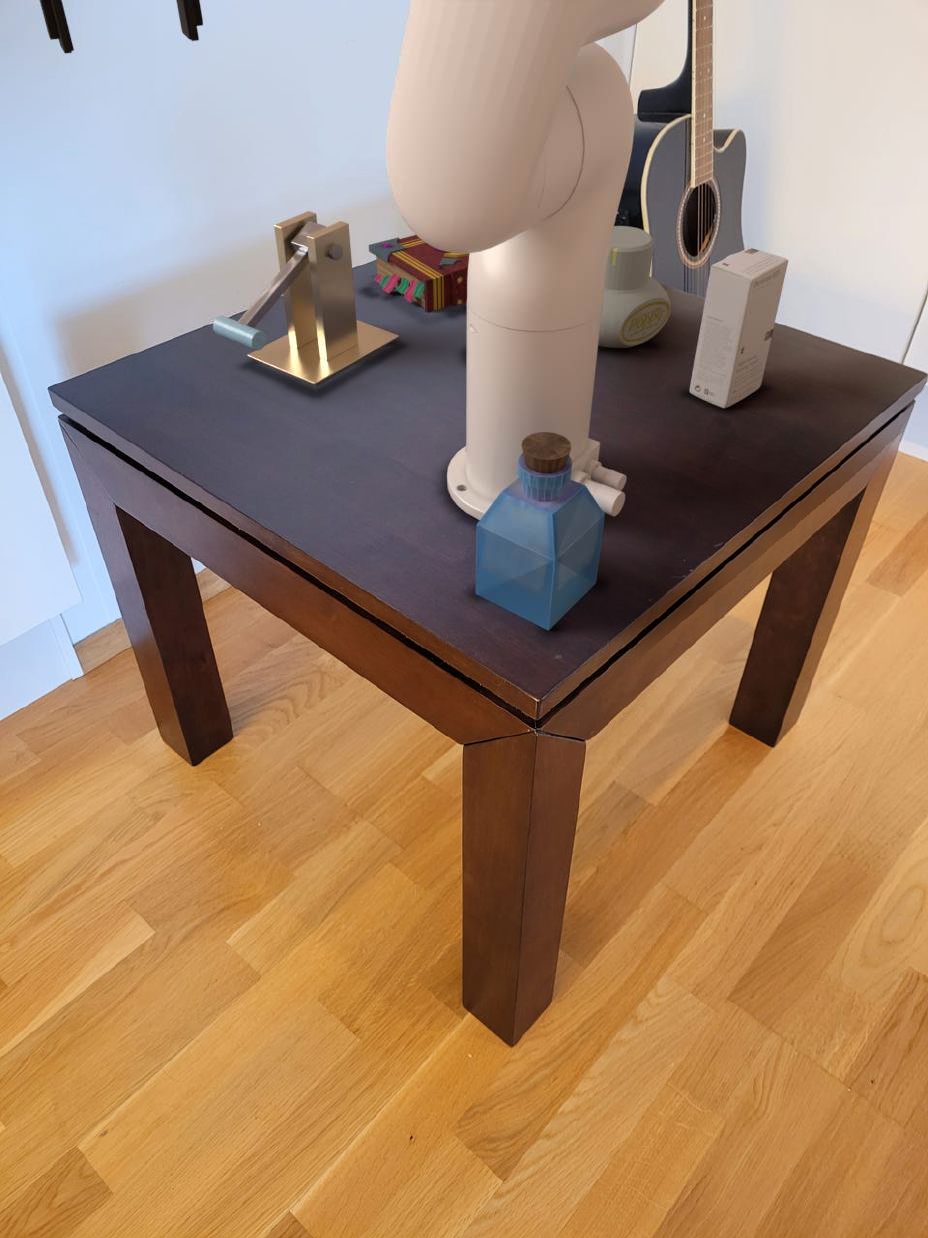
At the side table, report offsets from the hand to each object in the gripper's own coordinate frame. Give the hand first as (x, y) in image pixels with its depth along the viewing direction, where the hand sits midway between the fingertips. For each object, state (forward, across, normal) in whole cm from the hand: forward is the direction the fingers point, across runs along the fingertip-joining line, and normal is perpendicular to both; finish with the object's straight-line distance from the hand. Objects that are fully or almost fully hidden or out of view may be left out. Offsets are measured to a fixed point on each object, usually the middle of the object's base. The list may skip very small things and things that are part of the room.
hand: (130, 42), depth 75 cm
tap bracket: (+27, +12, -6) cm, 30 cm away
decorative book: (+27, +29, +4) cm, 40 cm away
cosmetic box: (+27, +43, -27) cm, 58 cm away
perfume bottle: (+27, +14, -45) cm, 54 cm away
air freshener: (+27, +40, -13) cm, 50 cm away
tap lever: (+19, +8, -8) cm, 22 cm away
